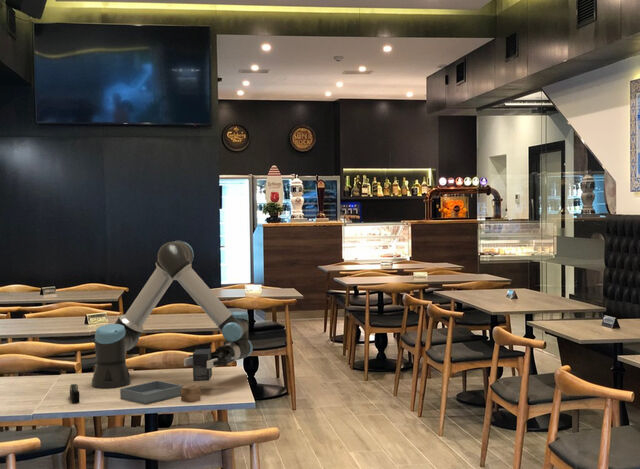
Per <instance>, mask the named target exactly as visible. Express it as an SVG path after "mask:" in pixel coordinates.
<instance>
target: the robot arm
mask: <svg viewBox="0 0 640 469" xmlns="http://www.w3.org/2000/svg"><path fill="white" fill-rule="evenodd" d="M194 255H195V254H194V250H193V247H192V246H191V245H190V244H189V243H187V242H185V241H182V240H175V241H169V242H166V243H164V244H162V245H161V247H160V248H159V250H158V252H157V259H156V262H155V266H156V268H155V269H154V271H153V272H152V274H151V276H149V279H148V280H147V281H146V283H145V284H144V286H143V287H142V289H141V291H140V292H139V294H138V295H137V297H136V298H135V299H134V301H133V302H132V304H131V305H130V307H129V308H128V309H127V311H126V312H125V314H121V315H119V316H118V318H117V319H116V321H115V323H109V324H104V325H101V326H98V327H97V328H96V329H95V334H94V340H95V343H94V344H95V345H94V346H95V347H94V348H95V369H94V372H93V376H92V379H91V387H93V388H99V389H110V388H120V387H121V388H122V387H126V386H128V385H130V384H131V382H132V381H131V380H132V379H131V375H130V372H129V370H128V366H127V362H126V361H127V360H126V358H127V357H126V356H127V355H126V354H127V353H126V352H127V351H128V352H129V351H130V350H132V349H133V348H135V347H136V345H137V344H138V342H139V339H140V336H141V335H142V334H143V332H144V324H145V323H146V321H147V319H148V318H149V316H150V315H151V314H152V312H153V311H154V310H155V308H156V306H157V305H158V303H159V302H160V300H161V299H162V298H163V296H164V294H165V293H166V292H167V290H168V288H169V287H170V286H171V284H172V283H173V281H177V282H178V283H179V284H180V285H181V287H182V288H183V289H184V290H185V291H186V293H188V294H189V296H190V297H191V298H192V299H193V301H194V302H195V303H196V304H197V305H198V306H199V307H200V308H201V310H203V312H204V313H205V314H206V316H207V317H208V318H209V319H210V320H211V321H212V322H213V323H214V324H215V326H217V328H218V329H219V330H220V332H221V333H222V337H223V338H224V340H225V341H227V342H228V343H226V344H223V345H220V346H217V348H216V349H215V350H214V351H211V360H209V361H207V369H209V368H212V369H213V368H215V367H217V366H222V365H223V366H227V365H229V364H232V363H233V362H236V361H238V360H242V359H246V358H247V357H249V356H251V355H252V353H253V351H254V350H253V348H254V347H253V343H252V342H251V341H250V340H249V321H250V320H249V314H248V312H246V311H245V312H244V311H234V312H231V311H230V310H229V309H228V307H226V305H225V304H224V303H223V302H222V301H221V300H220V298H218V296H216V294H215V293H214V292H213V290H212V289H211V288H210V287H209V286H208V285H207V284H206V283H205V282H204V280H203V279H202V278H201V277H200V275H198V274H197V272H196V271H195V270H194V269H193V268H192V262H193V260H194ZM190 365H191V366H192V365H193V354H189V355H188V357H187V358H183V366H184V367H187V366H190Z"/></svg>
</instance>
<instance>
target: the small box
mask: <svg viewBox="0 0 640 469" xmlns="http://www.w3.org/2000/svg"><path fill="white" fill-rule="evenodd" d="M211 352H212V348H200V349H199V348H198V349H195V350H194V352H193V353H192V355H193V364H192V377H193V378H192V379H193V380H192V381H193V382H207V381H208V382H209V381H211V378H212V376H213V371H212V370H213V367H212V368H209V369H207V361H209V360H211Z"/></svg>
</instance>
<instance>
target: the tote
mask: <svg viewBox="0 0 640 469" xmlns="http://www.w3.org/2000/svg"><path fill="white" fill-rule="evenodd" d="M181 387H184V385H182V384H178V383H172V382H167V381H162V380H153V381H149V382H145V383H141V384H136V385H131V386H127V387H126V386H125V387H123V388H122V387H121V388H120V389H119V390H120V391H119V393H120V400H125V401H131V402H134V403H139V404H142V405H150V404H153V403H158V402H162V401H165V400H171V399H173V398H177V397H181Z"/></svg>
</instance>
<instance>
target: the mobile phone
mask: <svg viewBox="0 0 640 469" xmlns="http://www.w3.org/2000/svg"><path fill="white" fill-rule="evenodd" d="M69 397H70V400H71V403H72V404H79V403H80V391H79V385H78V384H76V383H72V384H70V387H69Z"/></svg>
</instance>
